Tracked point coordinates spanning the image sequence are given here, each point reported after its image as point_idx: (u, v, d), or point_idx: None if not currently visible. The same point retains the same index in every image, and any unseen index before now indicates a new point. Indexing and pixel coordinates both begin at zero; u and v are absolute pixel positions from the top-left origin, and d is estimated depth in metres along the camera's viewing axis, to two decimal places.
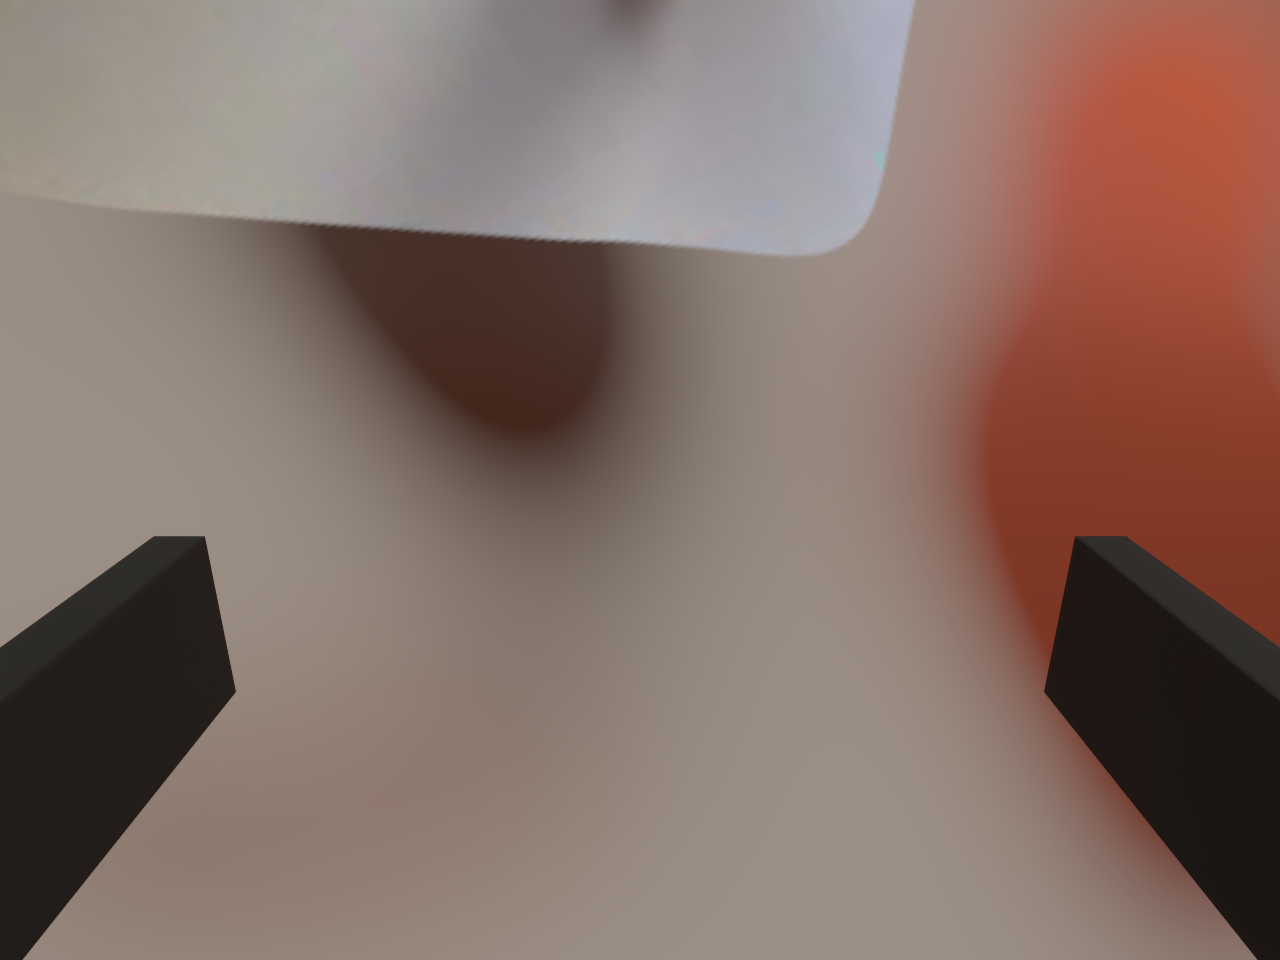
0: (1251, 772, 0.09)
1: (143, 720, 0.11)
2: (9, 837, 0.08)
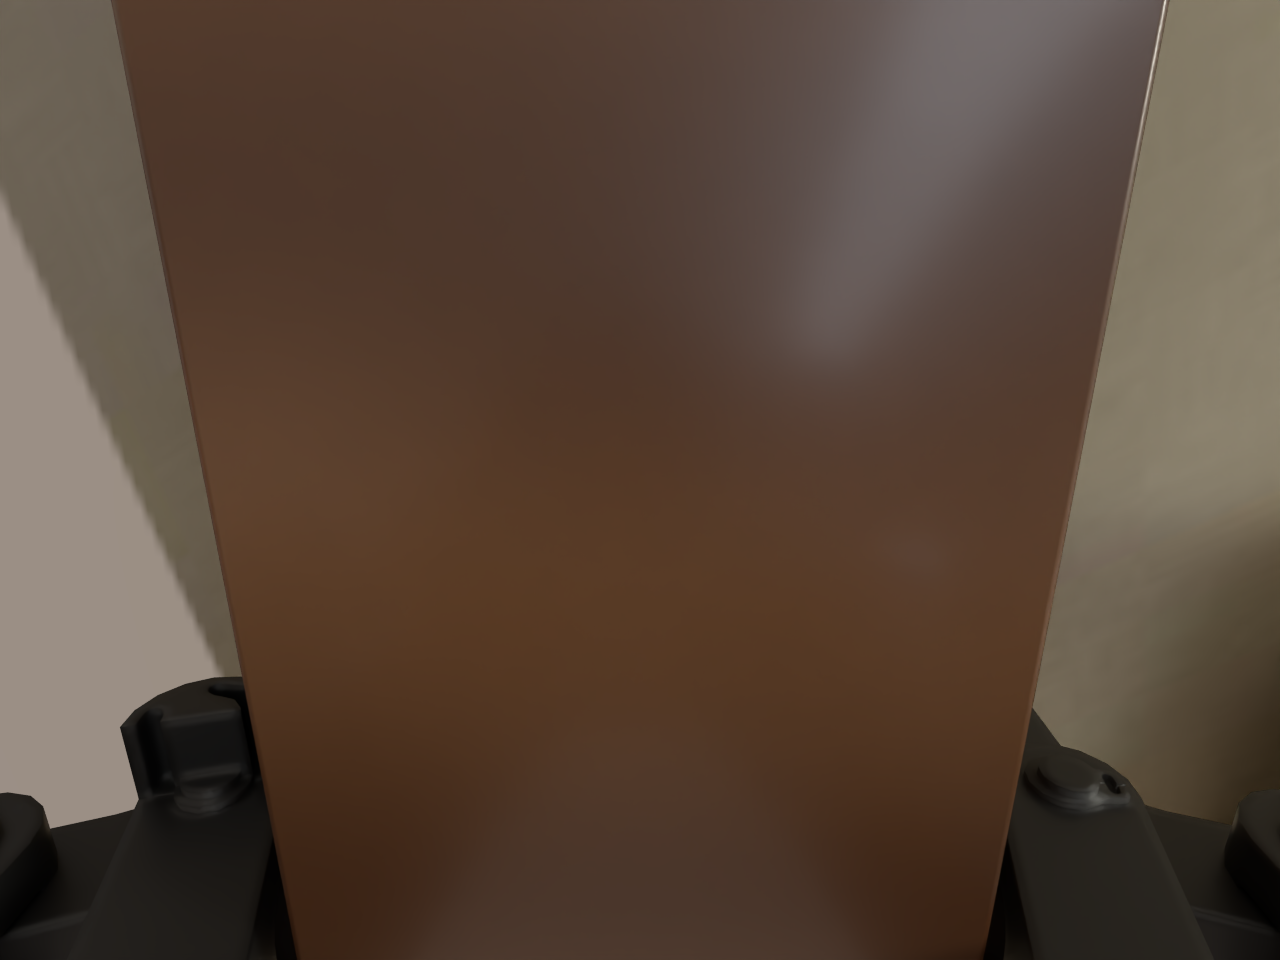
0: None
1: None
2: None
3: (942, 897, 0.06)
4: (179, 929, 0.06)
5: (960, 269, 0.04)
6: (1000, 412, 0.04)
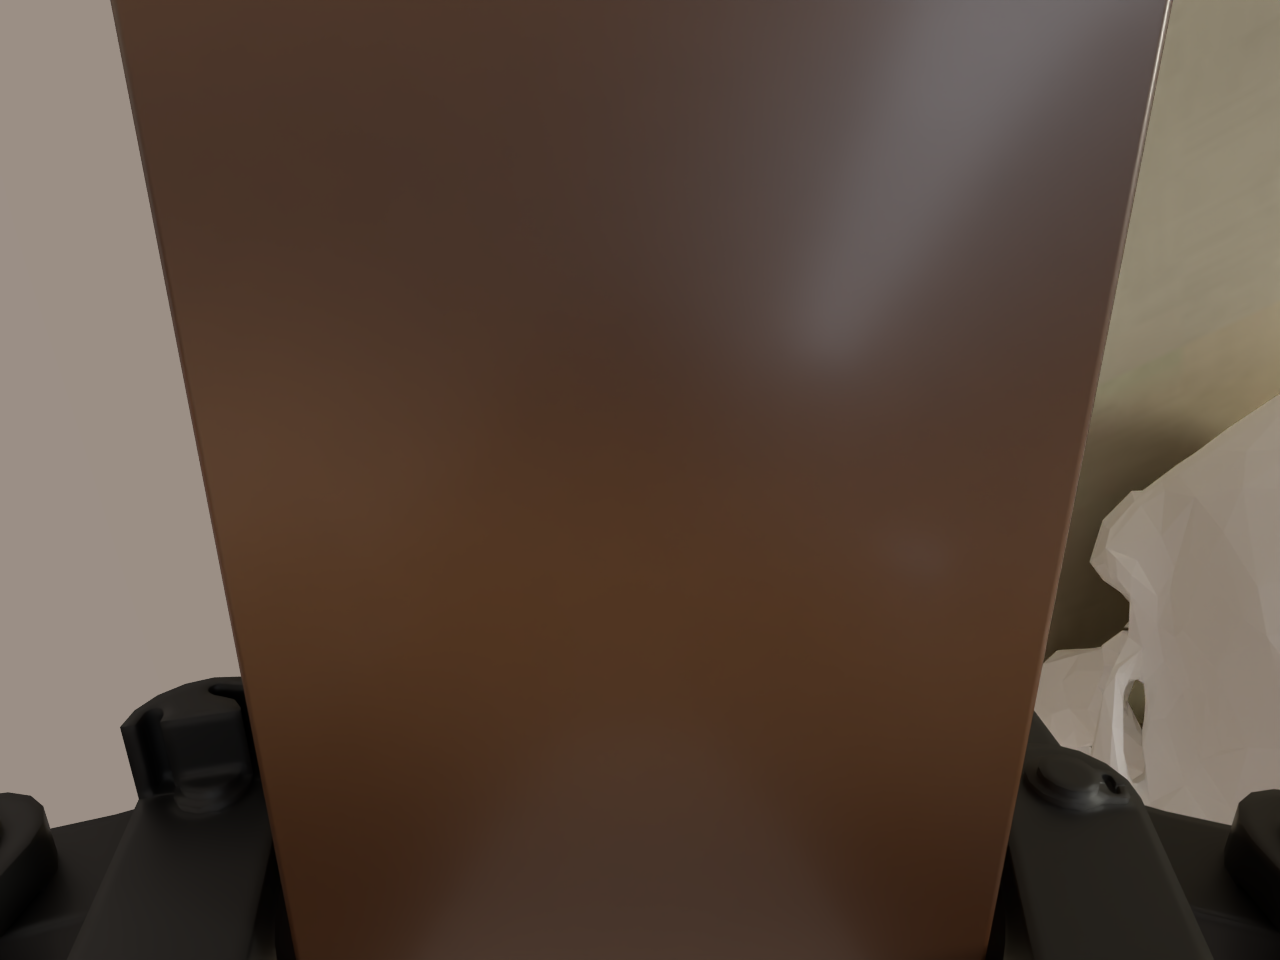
0: None
1: None
2: None
3: (944, 899, 0.06)
4: (179, 929, 0.06)
5: (964, 266, 0.04)
6: (1003, 412, 0.04)
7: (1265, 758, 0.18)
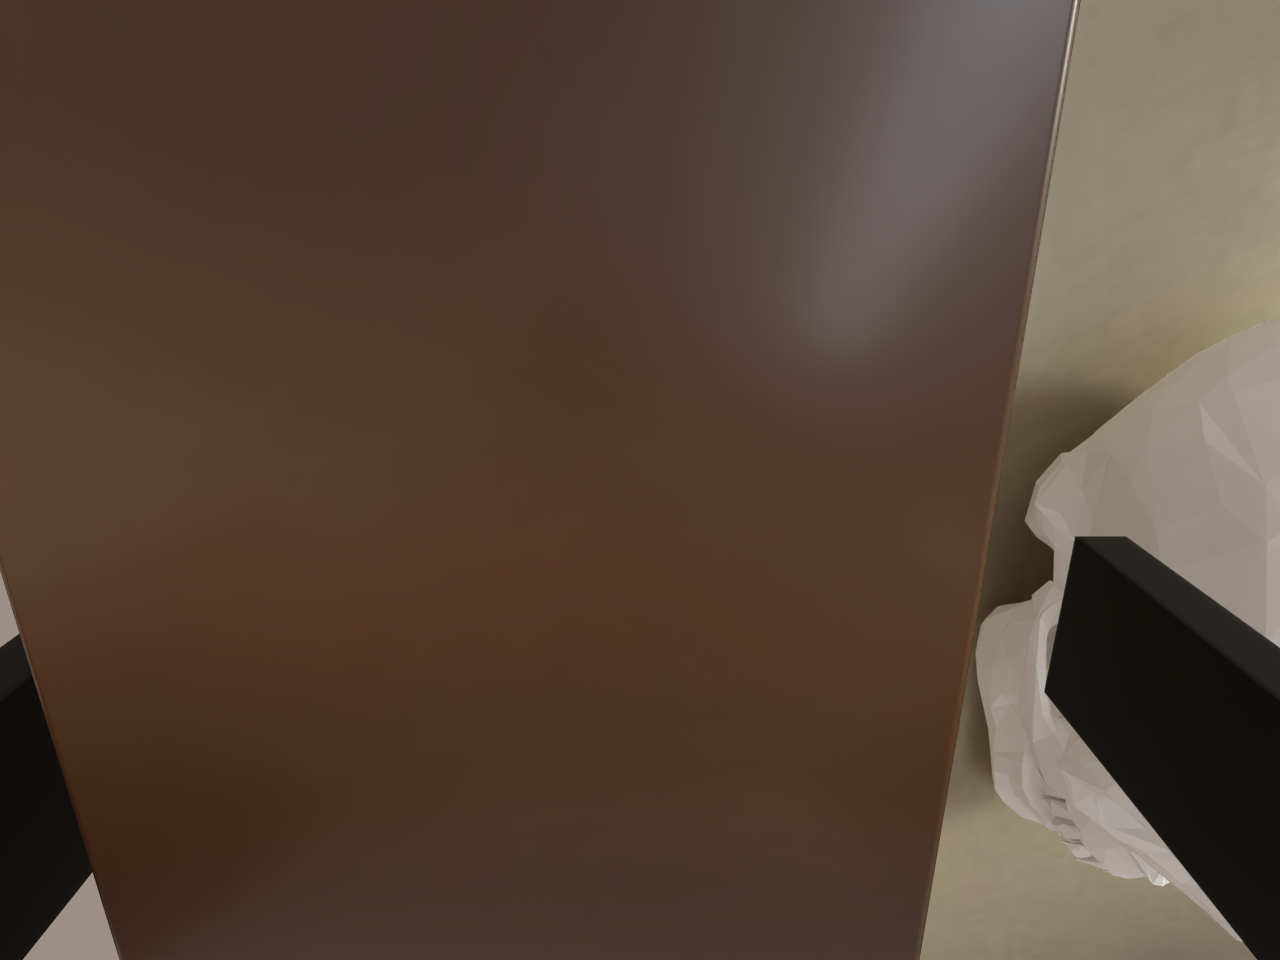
0: (1252, 772, 0.09)
1: None
2: (9, 837, 0.08)
3: (864, 921, 0.05)
4: None
5: (857, 167, 0.03)
6: (913, 348, 0.04)
7: None
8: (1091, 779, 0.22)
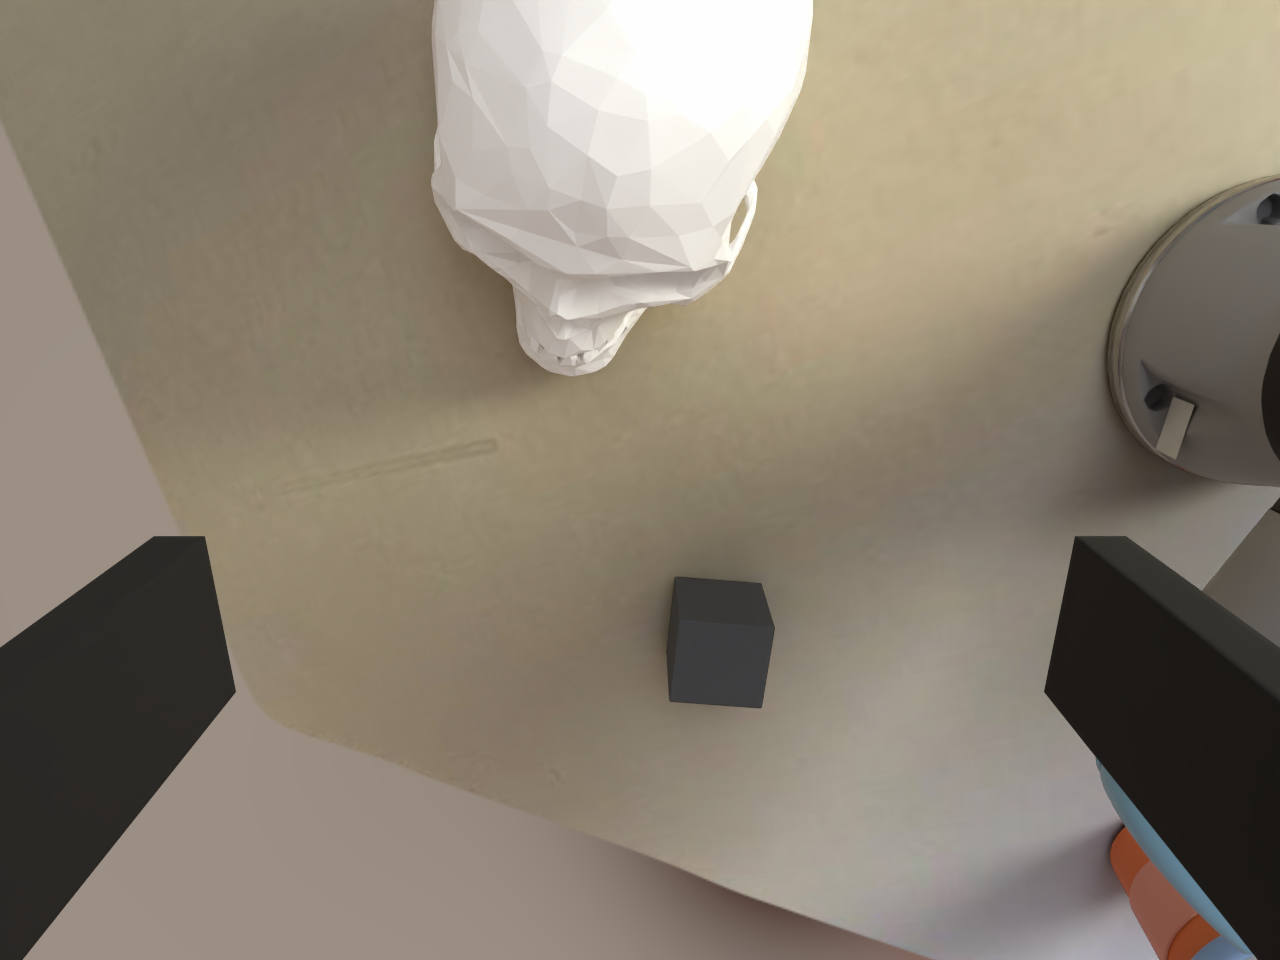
0: (1250, 772, 0.09)
1: (143, 719, 0.11)
2: (9, 837, 0.08)
3: None
4: None
5: None
6: None
7: None
8: (431, 187, 0.30)
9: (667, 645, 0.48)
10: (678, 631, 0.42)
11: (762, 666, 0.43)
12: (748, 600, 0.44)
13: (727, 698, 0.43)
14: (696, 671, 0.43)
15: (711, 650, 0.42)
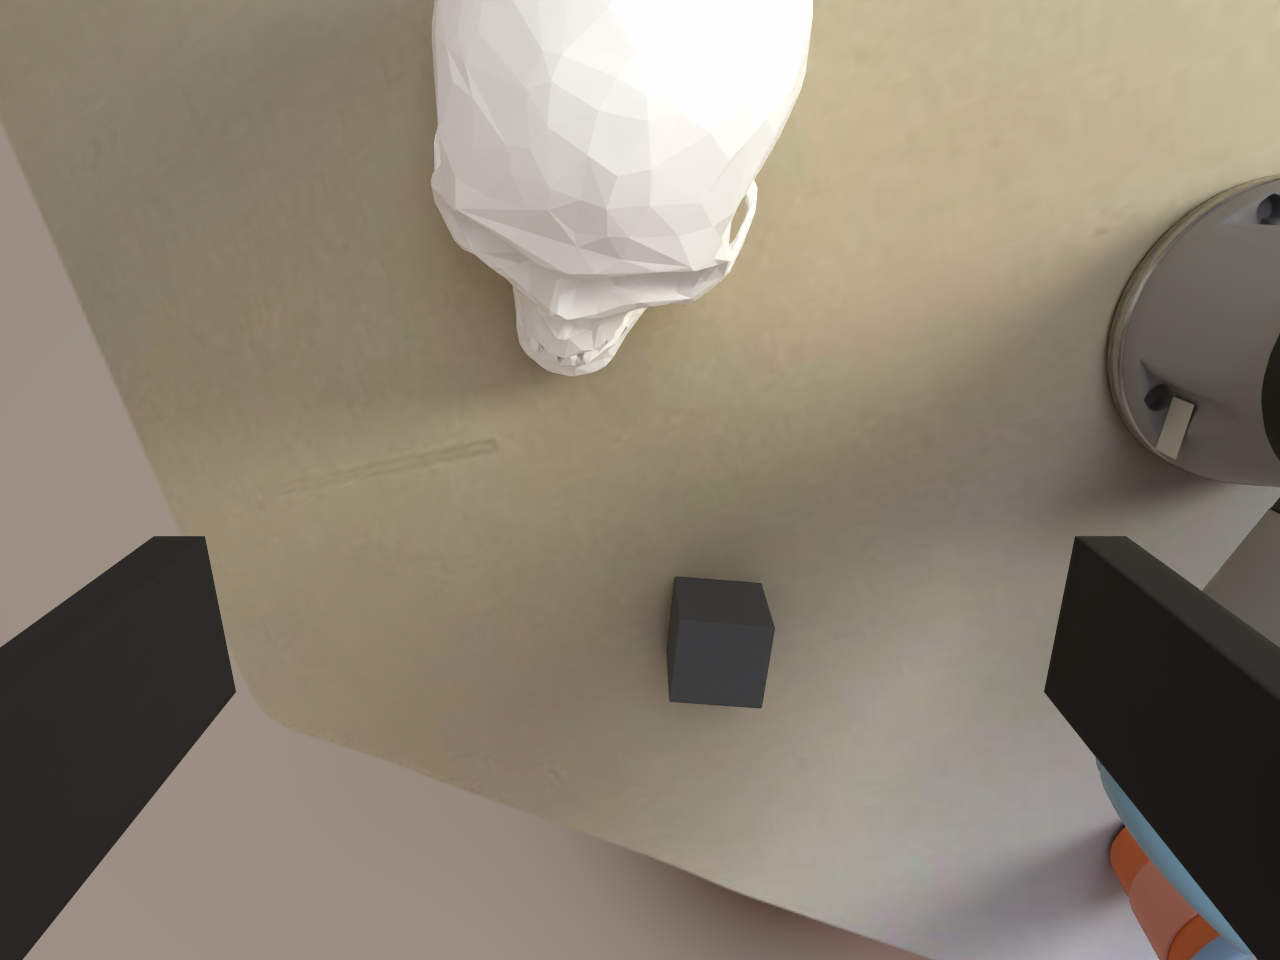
0: (1250, 772, 0.09)
1: (143, 719, 0.11)
2: (9, 837, 0.08)
3: None
4: None
5: None
6: None
7: None
8: (431, 187, 0.30)
9: (667, 645, 0.48)
10: (678, 631, 0.42)
11: (762, 666, 0.43)
12: (748, 600, 0.44)
13: (727, 698, 0.43)
14: (696, 671, 0.43)
15: (711, 650, 0.42)
